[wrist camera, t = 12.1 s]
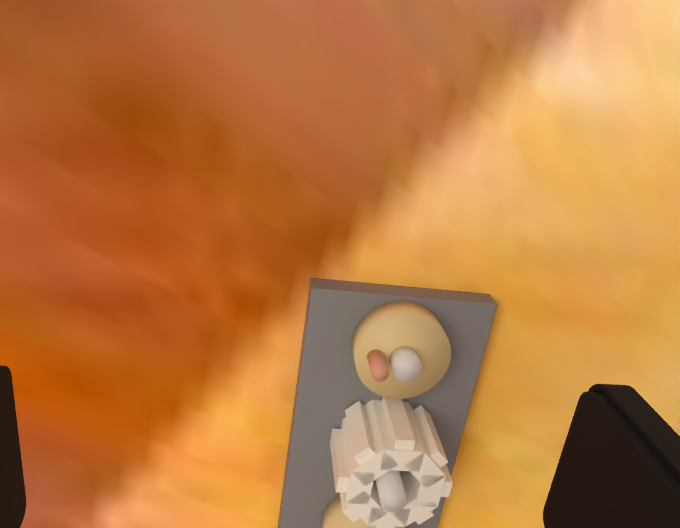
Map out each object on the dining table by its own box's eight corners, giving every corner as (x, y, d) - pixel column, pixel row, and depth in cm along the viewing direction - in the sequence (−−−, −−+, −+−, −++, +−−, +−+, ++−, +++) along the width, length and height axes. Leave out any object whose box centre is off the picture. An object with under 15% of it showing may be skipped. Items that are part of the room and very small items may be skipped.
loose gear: (443, 396, 39) (465, 445, 35) (422, 479, 42) (439, 535, 37) (338, 389, 38) (346, 439, 34) (323, 474, 41) (328, 531, 36)
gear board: (489, 294, 38) (535, 353, 31) (425, 537, 46) (451, 626, 40) (310, 278, 37) (317, 336, 30) (276, 533, 45) (276, 625, 38)
